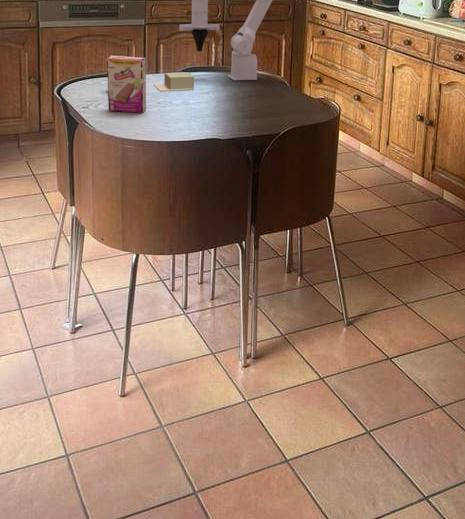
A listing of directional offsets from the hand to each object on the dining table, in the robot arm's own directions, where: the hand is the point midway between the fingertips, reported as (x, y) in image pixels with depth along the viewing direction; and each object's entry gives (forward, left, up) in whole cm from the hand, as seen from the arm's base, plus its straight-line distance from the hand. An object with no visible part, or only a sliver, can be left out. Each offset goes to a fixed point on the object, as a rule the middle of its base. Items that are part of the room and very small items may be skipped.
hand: (199, 50), depth 267 cm
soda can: (+32, +13, -11) cm, 36 cm away
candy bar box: (+34, +39, -11) cm, 53 cm away
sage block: (+6, +11, -8) cm, 15 cm away
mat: (+12, +11, -10) cm, 20 cm away
